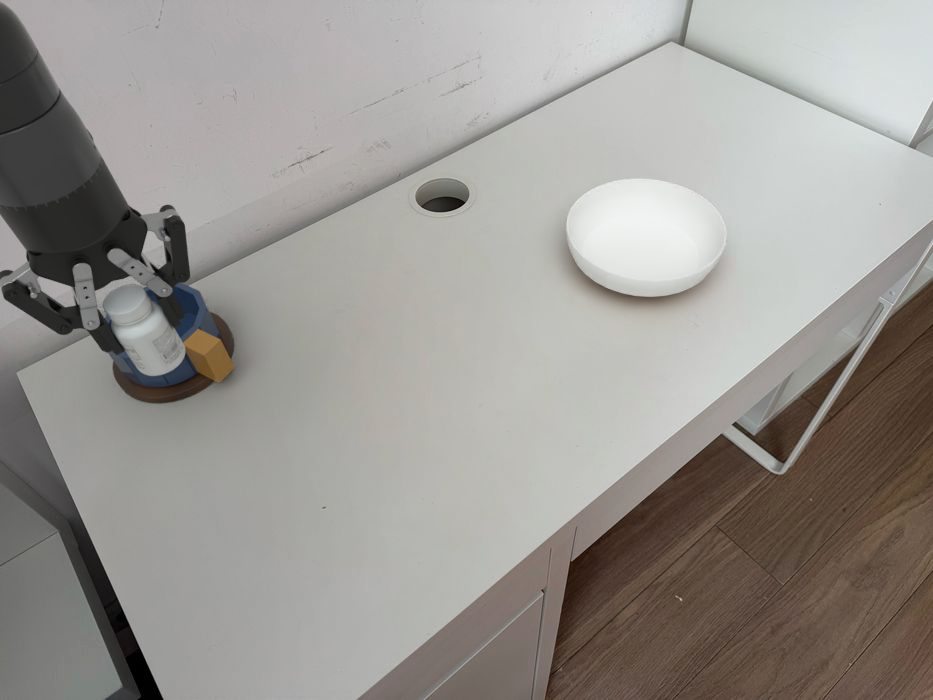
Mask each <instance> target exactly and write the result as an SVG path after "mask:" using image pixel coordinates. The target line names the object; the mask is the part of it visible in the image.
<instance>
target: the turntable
mask: <svg viewBox="0 0 933 700" xmlns="http://www.w3.org/2000/svg"><path fill="white" fill-rule="evenodd" d="M210 313H211V315H212V317H213V319H214V321H215V323H216V326H217V328H218V330H219V332H220V340H221V341H222V343H223V345H224V347H225V349H226V351H227V353H228V355H229V357H230V359H231V360H232V358H233V354H234V349H235V340H234V336H233V334H232V331H231V329H230V327H229V325H228V324H227V322H226V321H225V320H224V318H222V317H221V316H220V315H218V314H217V313H215V312H213V311H210ZM112 374H113V376H114V379H115V381H116V382H117V384H118V386H119V387H120V388H121V390H122V391H123V392H124V393H125V394H126V395H127V396H129V397H130V398H132V399H135V400H136V401H139V402H143V403H147V404H168V403H174V402H178V401H181V400H184V399H187V398H190V397H192V396H194V395H196V394H198V393H200V392H202V391H203V390H205V389H206V388H208V387H210V385H212V384H213V383H214V382H215V381H214V380H212V379H210V378H208V377H206V376H205V375H203V374H201V373H197V374H196V375H194V376H193V377H191V378H189V379H187V380H185V381H183V382H180V383H177V384H174V385H170V386H165V387H147V386H142V385H139V384H137V383H135V382H133V381H132V380H130V379H129V378H128V377H126V376H124V374H123V373H122V372H121V370H120V369H119V368H118V366H117V365H116V363H115V362H114V361H113V360H112Z"/></svg>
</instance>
